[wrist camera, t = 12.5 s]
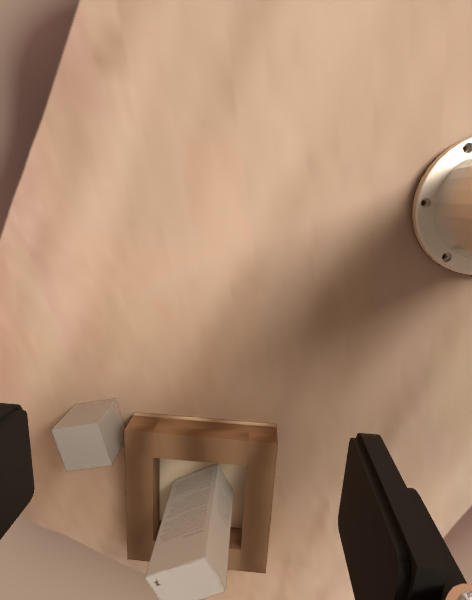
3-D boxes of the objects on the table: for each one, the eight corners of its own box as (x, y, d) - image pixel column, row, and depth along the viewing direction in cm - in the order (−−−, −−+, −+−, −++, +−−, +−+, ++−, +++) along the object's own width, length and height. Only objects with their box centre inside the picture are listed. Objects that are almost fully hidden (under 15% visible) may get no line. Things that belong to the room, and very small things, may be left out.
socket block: (276, 424, 42) (277, 443, 39) (265, 546, 46) (265, 573, 43) (135, 412, 43) (124, 430, 39) (137, 533, 47) (127, 559, 44)
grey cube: (115, 397, 43) (97, 422, 38) (127, 436, 44) (111, 465, 39) (74, 404, 43) (51, 429, 38) (87, 442, 44) (66, 471, 40)
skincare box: (190, 507, 45) (165, 613, 33) (173, 479, 44) (141, 578, 32) (236, 490, 44) (226, 593, 32) (219, 461, 43) (203, 556, 31)
